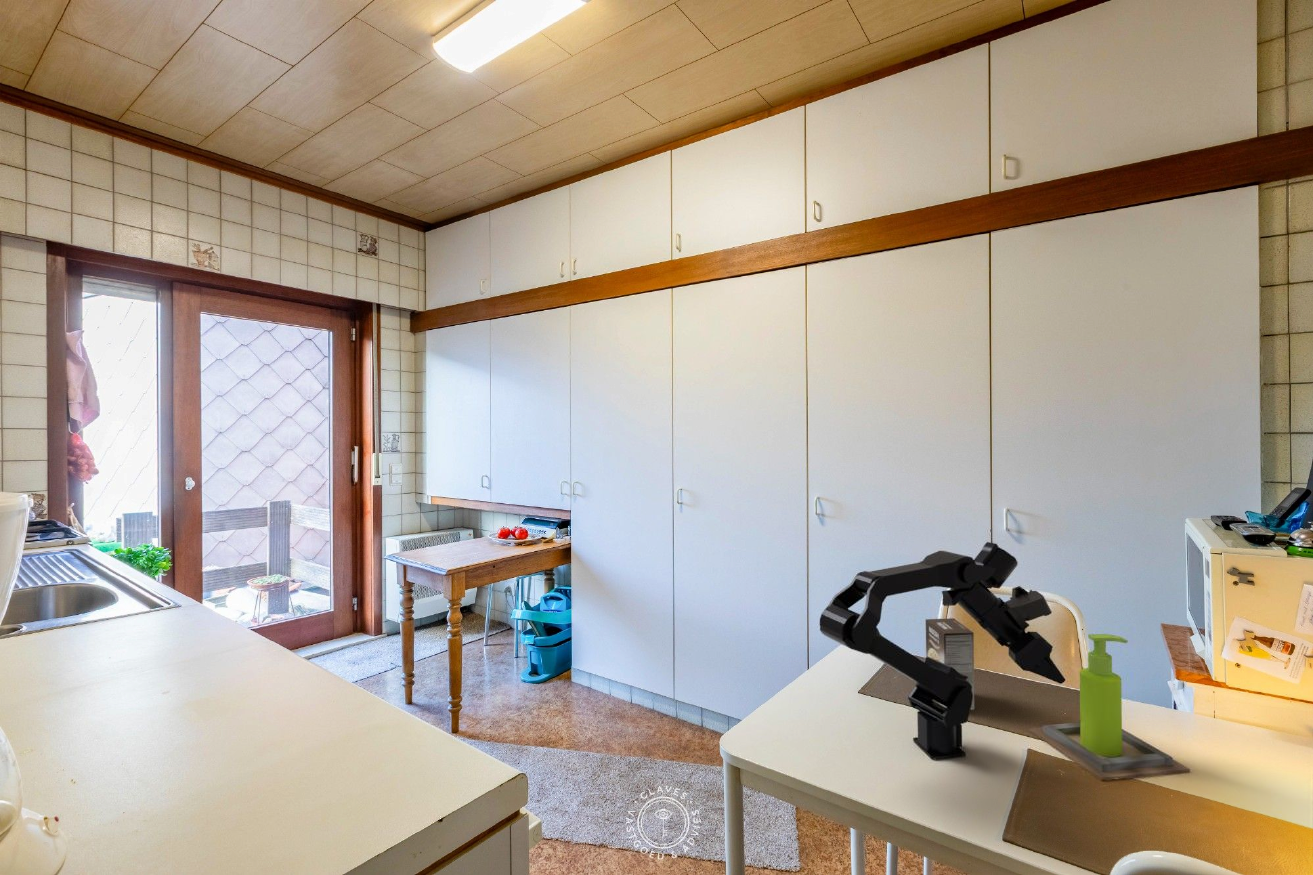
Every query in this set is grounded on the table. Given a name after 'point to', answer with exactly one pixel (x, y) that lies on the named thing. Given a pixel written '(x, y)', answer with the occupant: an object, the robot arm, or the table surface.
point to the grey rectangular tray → (1131, 764)
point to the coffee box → (951, 646)
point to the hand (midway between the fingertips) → (1052, 671)
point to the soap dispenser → (1101, 701)
